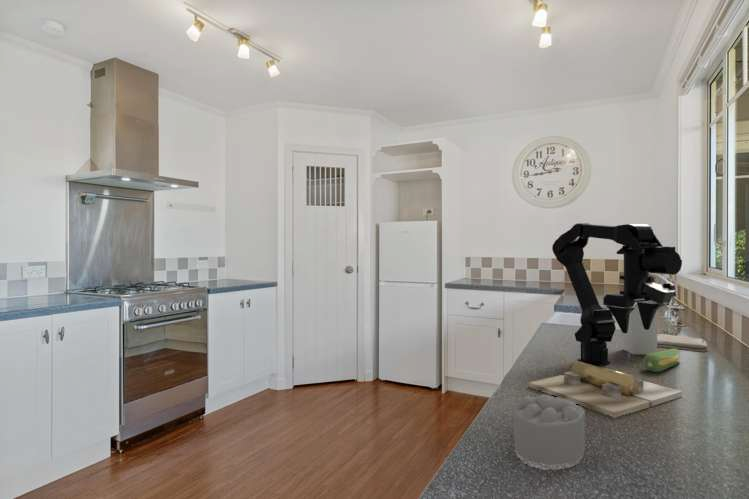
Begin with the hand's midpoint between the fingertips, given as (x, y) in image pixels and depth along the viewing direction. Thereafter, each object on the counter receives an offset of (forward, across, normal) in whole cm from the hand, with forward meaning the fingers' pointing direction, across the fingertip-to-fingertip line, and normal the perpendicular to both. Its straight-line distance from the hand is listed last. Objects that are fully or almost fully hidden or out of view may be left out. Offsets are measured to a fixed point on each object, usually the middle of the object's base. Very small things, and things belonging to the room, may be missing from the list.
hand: (635, 331), depth 114 cm
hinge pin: (+11, -18, -4) cm, 21 cm away
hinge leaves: (+12, -18, -4) cm, 22 cm away
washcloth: (+13, +45, +15) cm, 49 cm away
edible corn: (+12, +16, +2) cm, 20 cm away
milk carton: (+12, +25, +15) cm, 32 cm away
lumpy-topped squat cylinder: (+12, -54, -19) cm, 58 cm away
